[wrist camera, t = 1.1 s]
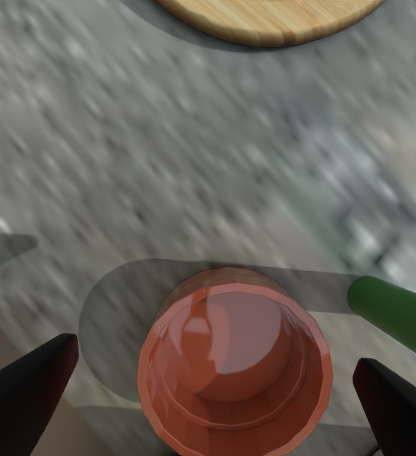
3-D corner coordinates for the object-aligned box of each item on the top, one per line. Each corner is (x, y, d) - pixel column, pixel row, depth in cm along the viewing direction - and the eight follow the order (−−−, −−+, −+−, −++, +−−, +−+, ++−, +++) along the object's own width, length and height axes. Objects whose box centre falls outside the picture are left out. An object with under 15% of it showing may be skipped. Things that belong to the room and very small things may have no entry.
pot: (312, 396, 24) (344, 450, 19) (168, 421, 24) (157, 484, 19) (291, 253, 23) (318, 267, 17) (139, 280, 23) (119, 302, 17)
